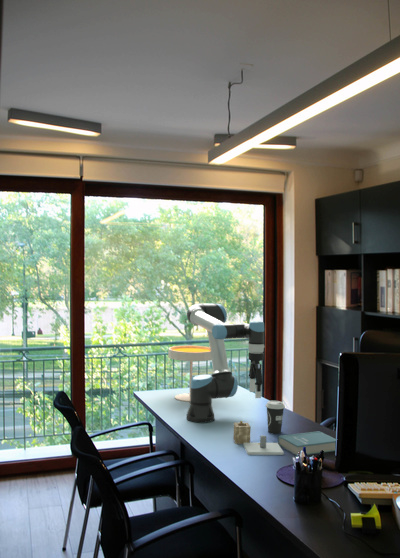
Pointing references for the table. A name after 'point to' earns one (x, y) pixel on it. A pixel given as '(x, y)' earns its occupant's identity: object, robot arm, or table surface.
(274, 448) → the plate
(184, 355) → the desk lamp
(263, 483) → the table surface
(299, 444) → the book
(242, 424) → the wooden cubby shelf
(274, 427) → the coffee cup
